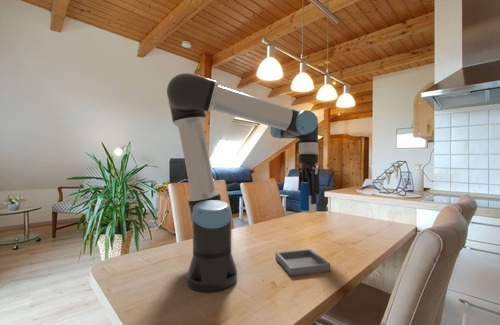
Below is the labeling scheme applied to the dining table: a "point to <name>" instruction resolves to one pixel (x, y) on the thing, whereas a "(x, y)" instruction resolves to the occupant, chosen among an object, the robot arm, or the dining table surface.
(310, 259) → the tray
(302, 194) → the beverage can
